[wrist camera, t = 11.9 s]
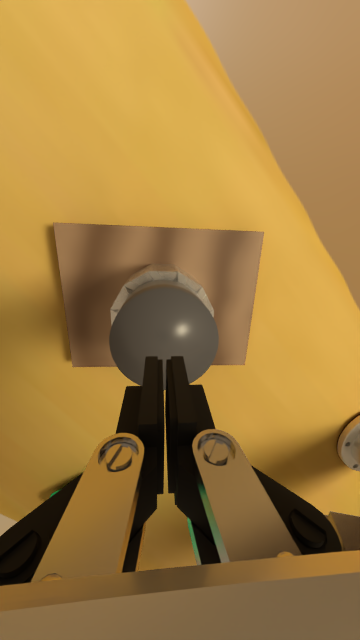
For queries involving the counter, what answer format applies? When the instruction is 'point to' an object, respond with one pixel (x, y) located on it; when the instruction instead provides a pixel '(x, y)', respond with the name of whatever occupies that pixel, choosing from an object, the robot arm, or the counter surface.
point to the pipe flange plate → (154, 264)
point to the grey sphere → (163, 330)
